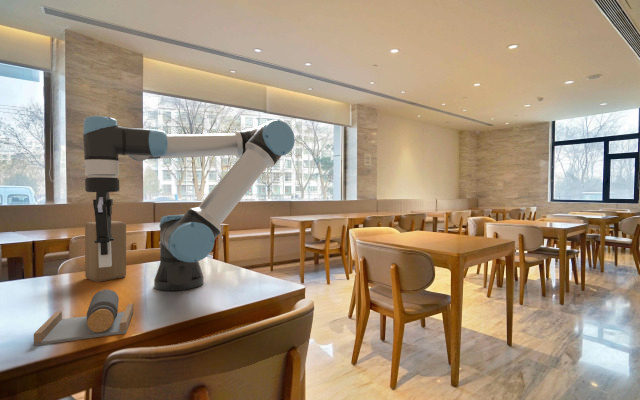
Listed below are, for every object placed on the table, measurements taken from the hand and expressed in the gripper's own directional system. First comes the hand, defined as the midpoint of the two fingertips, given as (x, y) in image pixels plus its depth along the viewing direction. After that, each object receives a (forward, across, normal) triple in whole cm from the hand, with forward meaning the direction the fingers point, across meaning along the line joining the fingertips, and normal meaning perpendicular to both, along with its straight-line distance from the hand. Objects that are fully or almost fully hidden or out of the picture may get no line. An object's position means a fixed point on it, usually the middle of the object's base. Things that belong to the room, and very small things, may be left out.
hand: (105, 266), depth 88 cm
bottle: (+8, +6, 0) cm, 9 cm away
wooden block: (+11, -36, -4) cm, 38 cm away
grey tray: (+11, +14, -2) cm, 18 cm away
